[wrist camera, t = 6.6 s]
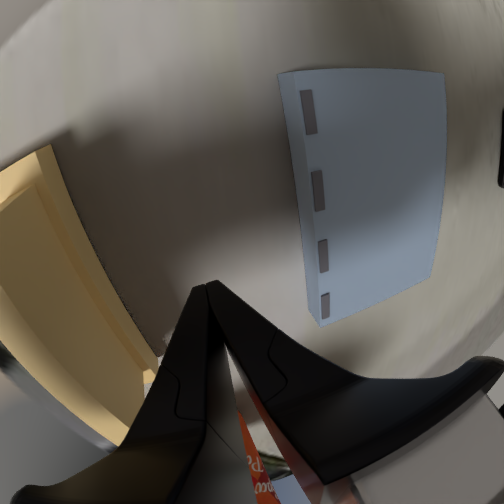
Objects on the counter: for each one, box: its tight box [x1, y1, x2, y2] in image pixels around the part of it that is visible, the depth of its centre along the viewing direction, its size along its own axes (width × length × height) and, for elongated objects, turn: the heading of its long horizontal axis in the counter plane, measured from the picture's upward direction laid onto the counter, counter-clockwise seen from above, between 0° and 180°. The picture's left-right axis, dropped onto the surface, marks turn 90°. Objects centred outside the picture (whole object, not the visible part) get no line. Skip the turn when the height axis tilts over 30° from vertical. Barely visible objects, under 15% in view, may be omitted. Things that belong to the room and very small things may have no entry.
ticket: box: [277, 68, 447, 328], centre depth 12 cm, size 8×12×2 cm, turn 11°
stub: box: [0, 144, 159, 446], centre depth 9 cm, size 6×12×6 cm, turn 11°
